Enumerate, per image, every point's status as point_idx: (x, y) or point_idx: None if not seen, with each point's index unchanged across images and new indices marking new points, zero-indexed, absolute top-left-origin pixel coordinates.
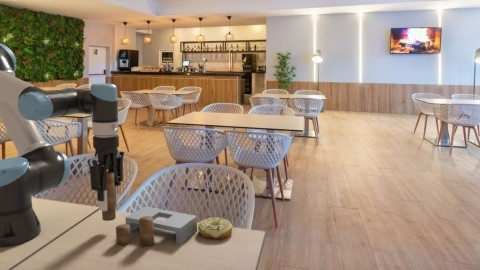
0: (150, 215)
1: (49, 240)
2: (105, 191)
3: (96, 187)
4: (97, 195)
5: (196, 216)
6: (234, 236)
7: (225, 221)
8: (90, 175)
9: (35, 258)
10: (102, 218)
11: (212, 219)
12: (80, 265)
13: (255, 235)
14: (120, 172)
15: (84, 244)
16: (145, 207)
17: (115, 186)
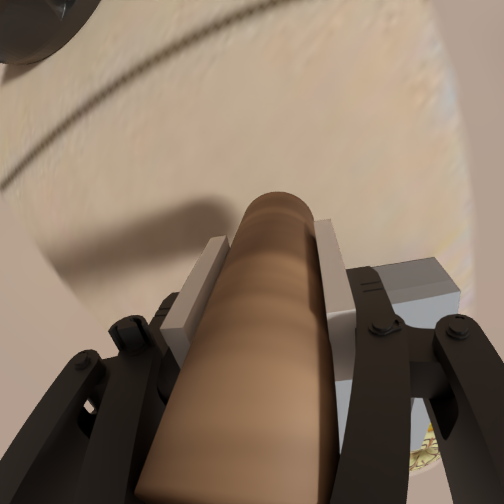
0: None
1: (82, 98)
2: None
3: (91, 419)
4: (151, 321)
5: (417, 448)
6: None
7: (430, 462)
8: (2, 461)
9: (28, 192)
10: (245, 212)
11: (433, 448)
12: (95, 319)
13: (419, 469)
14: (447, 476)
15: (144, 229)
16: (449, 303)
17: (338, 376)
